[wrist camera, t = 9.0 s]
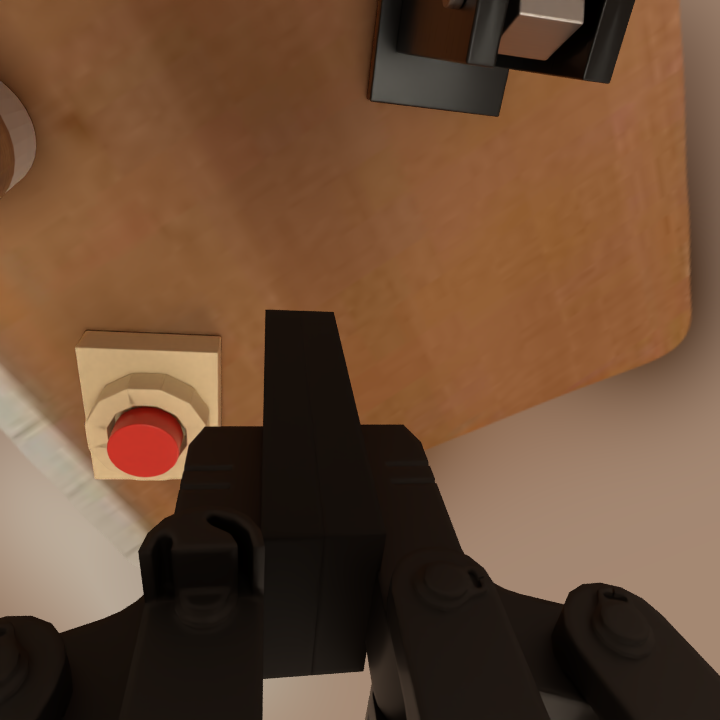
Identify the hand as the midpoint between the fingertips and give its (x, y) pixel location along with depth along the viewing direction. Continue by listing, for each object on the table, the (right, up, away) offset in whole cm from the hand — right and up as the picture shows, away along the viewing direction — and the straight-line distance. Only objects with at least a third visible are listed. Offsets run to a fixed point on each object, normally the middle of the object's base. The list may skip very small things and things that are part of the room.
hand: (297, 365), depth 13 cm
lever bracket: (+6, +18, +15) cm, 24 cm away
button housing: (-12, -3, +24) cm, 27 cm away
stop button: (-11, -4, +21) cm, 24 cm away
